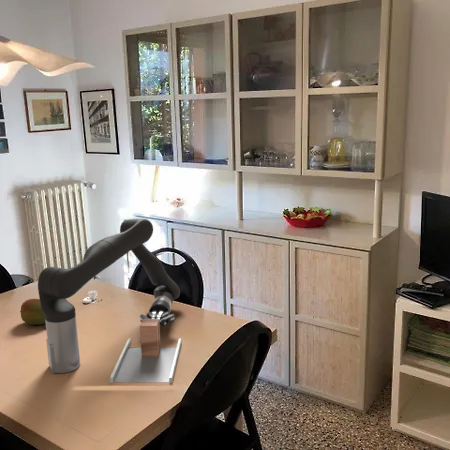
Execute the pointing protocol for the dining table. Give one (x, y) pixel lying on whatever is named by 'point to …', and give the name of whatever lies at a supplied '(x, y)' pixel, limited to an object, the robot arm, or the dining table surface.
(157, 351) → the terracotta block
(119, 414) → the dining table surface
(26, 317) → the fruit
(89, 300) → the teacup and saucer
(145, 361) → the track
